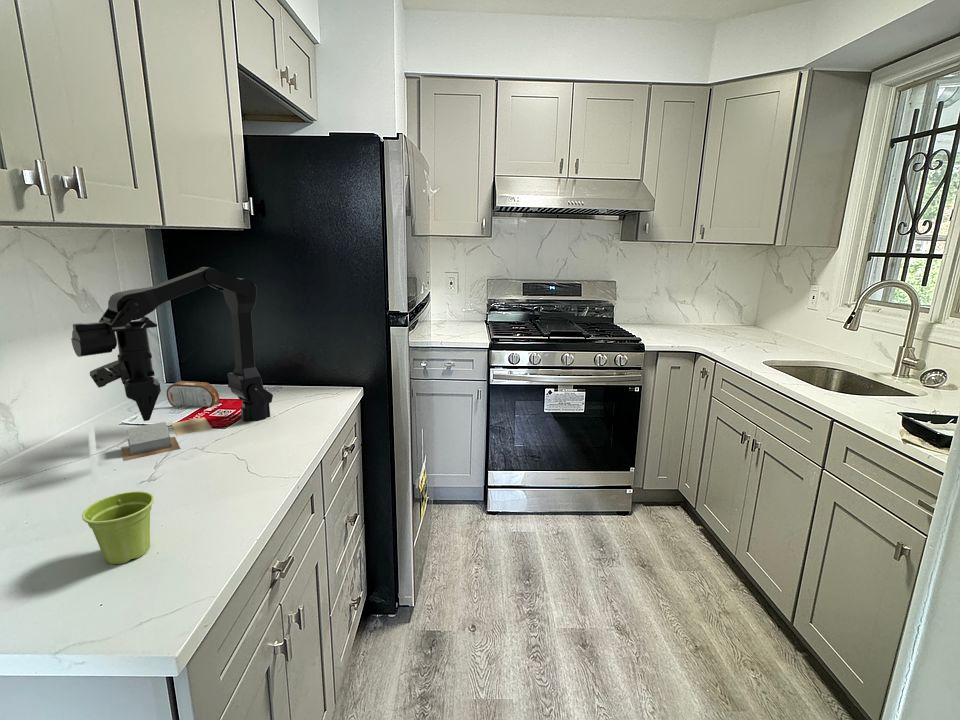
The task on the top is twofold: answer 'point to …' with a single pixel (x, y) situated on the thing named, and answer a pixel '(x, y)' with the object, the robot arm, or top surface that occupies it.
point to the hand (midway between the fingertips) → (144, 414)
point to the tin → (192, 394)
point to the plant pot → (121, 525)
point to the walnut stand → (128, 456)
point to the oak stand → (191, 426)
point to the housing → (148, 438)
